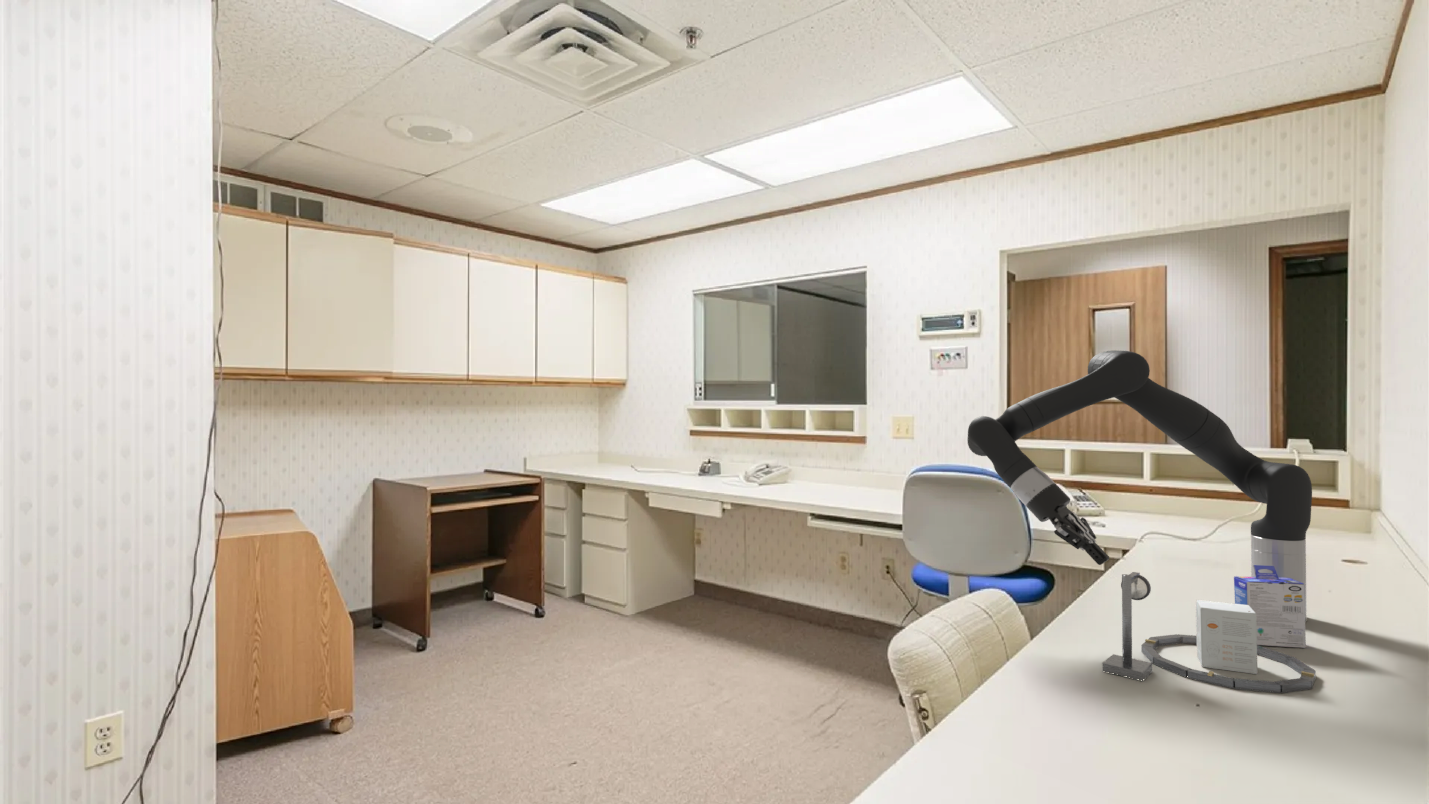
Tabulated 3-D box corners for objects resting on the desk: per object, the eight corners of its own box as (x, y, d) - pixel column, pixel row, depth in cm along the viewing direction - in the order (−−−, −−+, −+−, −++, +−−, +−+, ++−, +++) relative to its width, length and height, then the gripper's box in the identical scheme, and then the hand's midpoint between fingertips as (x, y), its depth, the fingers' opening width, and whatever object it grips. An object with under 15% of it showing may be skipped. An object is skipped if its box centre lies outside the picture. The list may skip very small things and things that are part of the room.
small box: (1250, 664, 122) (1250, 604, 122) (1258, 675, 117) (1257, 613, 117) (1195, 657, 125) (1195, 598, 126) (1200, 667, 121) (1200, 606, 121)
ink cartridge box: (1290, 639, 135) (1289, 565, 135) (1308, 649, 129) (1307, 571, 129) (1232, 636, 137) (1232, 563, 137) (1248, 645, 131) (1247, 569, 131)
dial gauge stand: (1118, 658, 125) (1117, 566, 125) (1156, 667, 120) (1155, 572, 121) (1102, 671, 118) (1101, 575, 119) (1142, 681, 114) (1141, 581, 114)
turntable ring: (1162, 632, 139) (1162, 625, 139) (1321, 664, 122) (1321, 655, 122) (1127, 664, 122) (1127, 655, 122) (1306, 705, 105) (1306, 695, 105)
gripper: (1040, 484, 137) (1109, 555, 129) (1064, 479, 147) (1129, 545, 138) (1014, 508, 141) (1079, 579, 132) (1038, 502, 150) (1100, 567, 142)
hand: (1104, 561), depth 135 cm, fingers closed
